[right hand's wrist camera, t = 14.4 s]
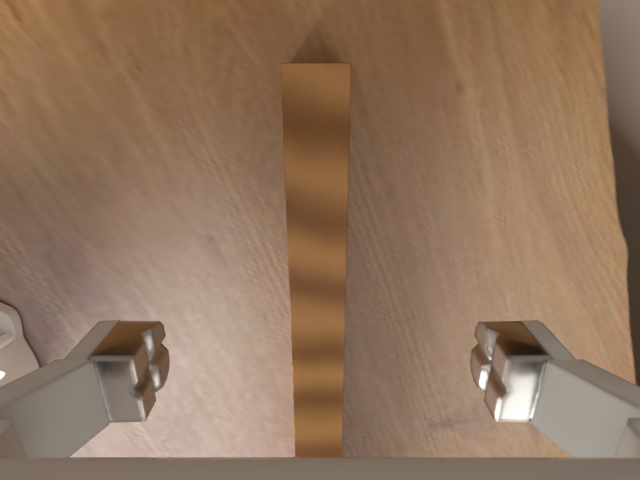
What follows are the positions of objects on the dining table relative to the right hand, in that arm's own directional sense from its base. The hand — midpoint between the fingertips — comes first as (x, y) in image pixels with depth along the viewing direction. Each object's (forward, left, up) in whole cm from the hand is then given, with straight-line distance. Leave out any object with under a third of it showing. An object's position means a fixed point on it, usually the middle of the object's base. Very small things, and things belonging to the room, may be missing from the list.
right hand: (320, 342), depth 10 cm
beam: (+19, -21, -26) cm, 38 cm away
